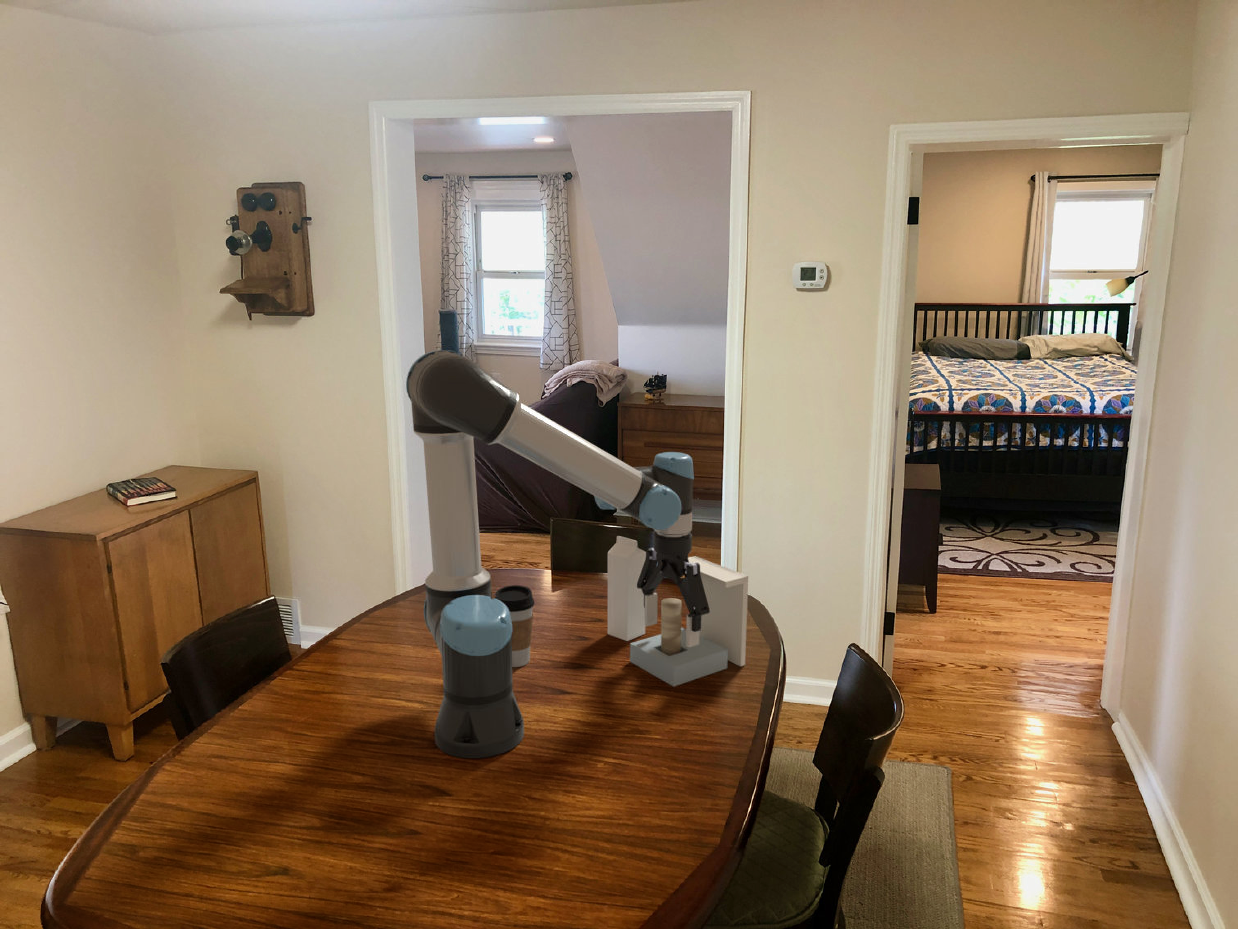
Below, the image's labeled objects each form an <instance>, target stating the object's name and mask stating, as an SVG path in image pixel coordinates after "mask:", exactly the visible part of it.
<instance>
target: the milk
mask: <svg viewBox="0 0 1238 929" xmlns="http://www.w3.org/2000/svg"><path fill="white" fill-rule="evenodd" d="M645 559H646V550H645V551H644V550H643V549H640V548H639V547H638V541H637V540H635V539H631V538H628V537H624V536H620V535H617V536H616V543H614V545H613V546H612V547H611V548H610V549H609V550H608V552H607V635H609V636H611V637H614V638H618V639H620V640H623V641H626V642H629V641H631V640H634V639H636V638H638V637H641V636H643V635H645V634H646V626H645V608H644V594H643V592H642V589H641V588H640V589H638V588H637V582H638V579H639V576H640V574H641V571H642V568H643V565H644V562H645Z"/></svg>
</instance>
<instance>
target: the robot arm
mask: <svg viewBox="0 0 1238 929" xmlns="http://www.w3.org/2000/svg"><path fill="white" fill-rule="evenodd" d="M405 389H406V393H407V397H408V398H409V400H410V404H411V413H412V414H411V415H412V417H411V418H412V424H413V425H412V426H413V427H412V428H413V432H414V434H415V435H417V436H418V437H419V438H420V439H421V440H422V442H423V454H424V466H425V481H426V483H425V484H426V493H427V494H426V496H427V505H428V506H427V507H428V508H427V509H428V519H429V520H428V522H429V532H430V533H429V534H430V536H429V537H430V545H431V546H430V548H431V561H432V563H431V564H432V571H431V572H430V573H429V574H428V576H426V578H425V580H424V581H425V582H424V583H425V595H426V596H425V600H424V603H423V617H424V622H425V625H426V628H427V629H428V631H429V632H430V633H431V636H432V637H433V640H434V642H435V644H436V646H437V648H438V651H439V652H440V655H441V661H442V662H441V666H442V684H443V686H442V687H443V688H442V689H443V698H442V701H441V705H440V707H439V710H438V714H437V718H436V721H435V723H434V724H435V725H434V742H435V745H436V746H437V748H438V749H440V750H441V752H442V753H445V754H447V755H450V756H453V757H457V758H463V759H482V758H489V757H494V756H497V755H501V754H504V753H506V752H509V751H510V750H512V749H514V748H515V747H517V746H518V745H519V744H520V742H522V740H523V739H524V736H525V722H524V717H523V714H522V712H521V710H520V706H519V704H518V702H517V699H516V696H515V694H514V691H513V690H514V687H513V667H512V621H511V616H510V612H509V609H508V608H507V606H506V605H505V604H504V603H503V602H501V601H500V600H498V599H495V598H493V597H492V583H491V580H492V578H491V573H490V572H489V571H487V570H486V569H485V568H484V567H482V560H481V558H482V557H481V554H482V553H481V543H480V542H481V541H480V540H481V538H480V528H479V526H480V524H479V509H478V508H479V507H478V493H477V491H478V490H477V477H476V462H475V461H476V459H475V446H474V445H475V444H474V439H477V440H479V441H481V442H482V443H484V444H486V445H488V446H490V445H494V444H499V445H501V446H503V447H505V448H507V449H508V450H510V451H512V452H514V453H516V454H518V455H519V456H521V457H523V458H525V459H527V460H529V461H530V462H532V463H534V464H536V465H537V466H539V467H541V468H543V469H545V470H547V471H548V472H551V473H553V475H556V476H558V477H559V478H561V479H563V480H564V481H566V482H568V483H569V484H572V485H574V486H576V487H578V488H580V489H581V490H584V491H585V492H586V493H589V494H590V495H593V497H594V501H595V503H596V505H597V507H599V509H601V510H612V511H614V510H616V509H618V510H619V511H621V512H623V513H625V514H627V515H628V516H630V517H632V518H633V519H636V520H637V521H639V522H640V523H642V524H643V525H644V526H646V527H647V528H650V529H653V530H654V533H653V547H650V548H647V549H646V550H645V552H646V559H645V562H644V565H643V568H642V571H641V574H640V576H639V579H638V582H637V588H638V589H640V588H641V589H642V592H643V594H644V608H645V627H650V626H653V625H656V624H658V593H657V592H658V590H657V588H658V587H659V586H660V584H661V582H662V581H663V579H664V578H669V579H670V580H672V581H673V582H674V584H675V585H677V587H678V590H679V591H680V594H681V596H682V598H683V601H684V602H685V605H686V608H687V610H688V612H689V613H688V614H686V628H685V629H686V647H688V648H689V647H692V646H696V645H699V631H700V630H701V616H702V615H704V614H708V613H709V612H710V610H709V606H708V602H707V598H706V594H705V591H704V587H703V583H702V579H701V575H700V564H699V563H694V564H693V563H689V560H688V558H689V554H690V553H691V552H692V550H693V549H692V548H693V534H692V533H691V531H692V530H693V497H694V496H693V495H694V493H693V492H694V491H693V490H694V479H695V476H694V463H693V458H692V457H691V455H689V454H687V453H683V452H679V451H678V452H677V451H667V452H661V453H658V454H656V455H655V456H654V460H653V462H652V465H647V466H633V467H632V466H631V465H629V464H628V463H625V462H624V461H622V460H621V459H619V458H617V457H616V456H614V455H612V454H610V452H609V453H608V452H607V451H605V450H604V449H601V448H600V447H598V446H597V445H595V444H593V443H591V442H589V441H588V440H586V439H584V438H582V437H581V436H579V435H578V434H576V433H575V432H573V431H570V429H567V428H566V427H564V426H562V425H561V424H558V423H557V422H556V421H553V420H551V419H550V418H548V417H546V415H543V413H540V412H538V411H536V410H535V409H533V408H531V407H529V406H527V405H526V404H524V403H522V402H521V399H520V395H519V393H518V392H516V391H514V390H512V389H511V388H509V387H508V386H506V385H504V384H503V383H501V381H499V380H498V379H496V378H495V377H493V375H492V374H490V373H489V372H488V371H486V370H485V369H484V368H482V367H481V366H480V365H479V364H478V363H477V362H476V361H474V360H473V359H471V358H468V357H465V356H463V355H462V354H461V353H458V352H456V351H454V350H450V349H449V350H443V349H440V350H439V349H438V350H432V351H429V352H427V353H425V354H422V355H421V356H419V357H418V358H416V360H415V361H414V362H413V363H412V365H411V366H410V368H409V370H408V372H407V376H406V383H405ZM694 607H695V609H694Z"/></svg>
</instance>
